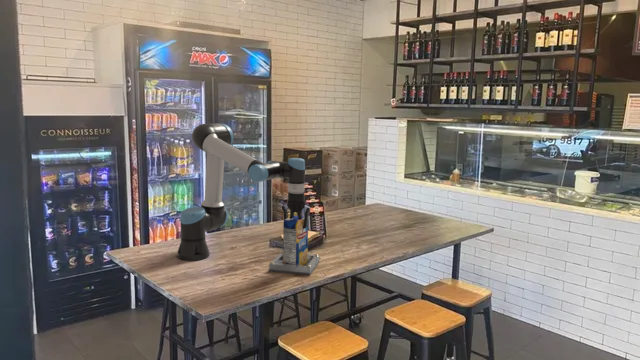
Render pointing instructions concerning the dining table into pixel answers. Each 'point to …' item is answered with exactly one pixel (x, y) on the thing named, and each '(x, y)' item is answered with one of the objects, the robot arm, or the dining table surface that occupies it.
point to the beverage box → (295, 241)
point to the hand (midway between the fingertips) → (295, 242)
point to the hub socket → (294, 269)
